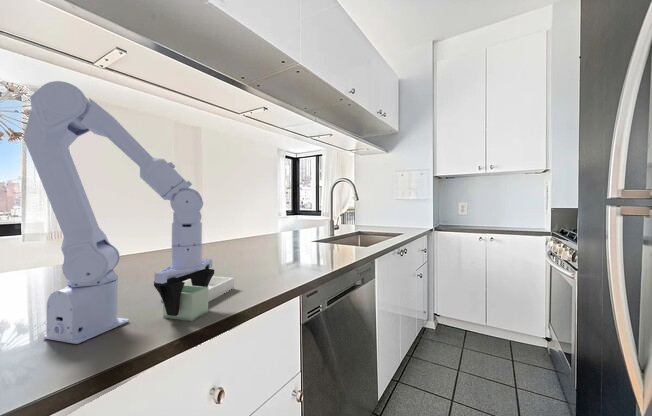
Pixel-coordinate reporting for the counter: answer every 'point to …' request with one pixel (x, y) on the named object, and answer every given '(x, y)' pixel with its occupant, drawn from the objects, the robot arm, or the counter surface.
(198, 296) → the small crate
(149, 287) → the counter surface
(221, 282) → the white shallow tray
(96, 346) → the counter surface
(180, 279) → the tape measure
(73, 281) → the robot arm
